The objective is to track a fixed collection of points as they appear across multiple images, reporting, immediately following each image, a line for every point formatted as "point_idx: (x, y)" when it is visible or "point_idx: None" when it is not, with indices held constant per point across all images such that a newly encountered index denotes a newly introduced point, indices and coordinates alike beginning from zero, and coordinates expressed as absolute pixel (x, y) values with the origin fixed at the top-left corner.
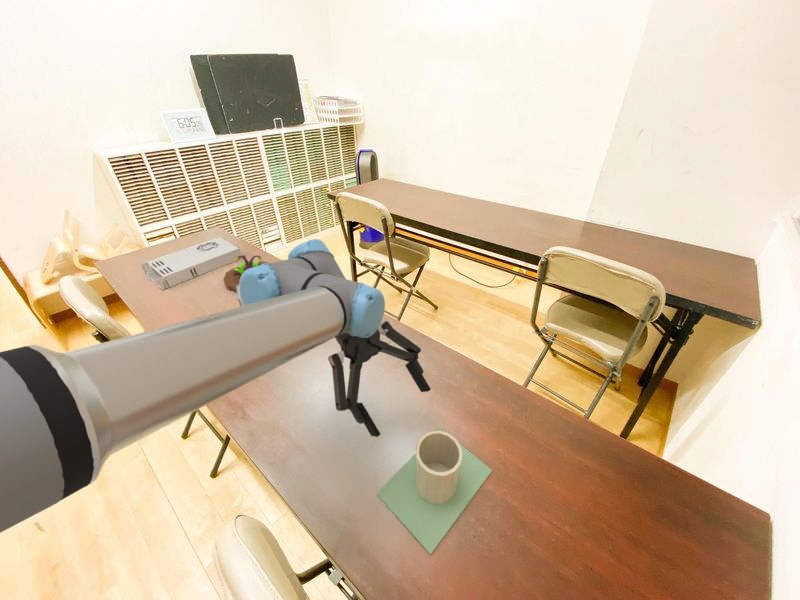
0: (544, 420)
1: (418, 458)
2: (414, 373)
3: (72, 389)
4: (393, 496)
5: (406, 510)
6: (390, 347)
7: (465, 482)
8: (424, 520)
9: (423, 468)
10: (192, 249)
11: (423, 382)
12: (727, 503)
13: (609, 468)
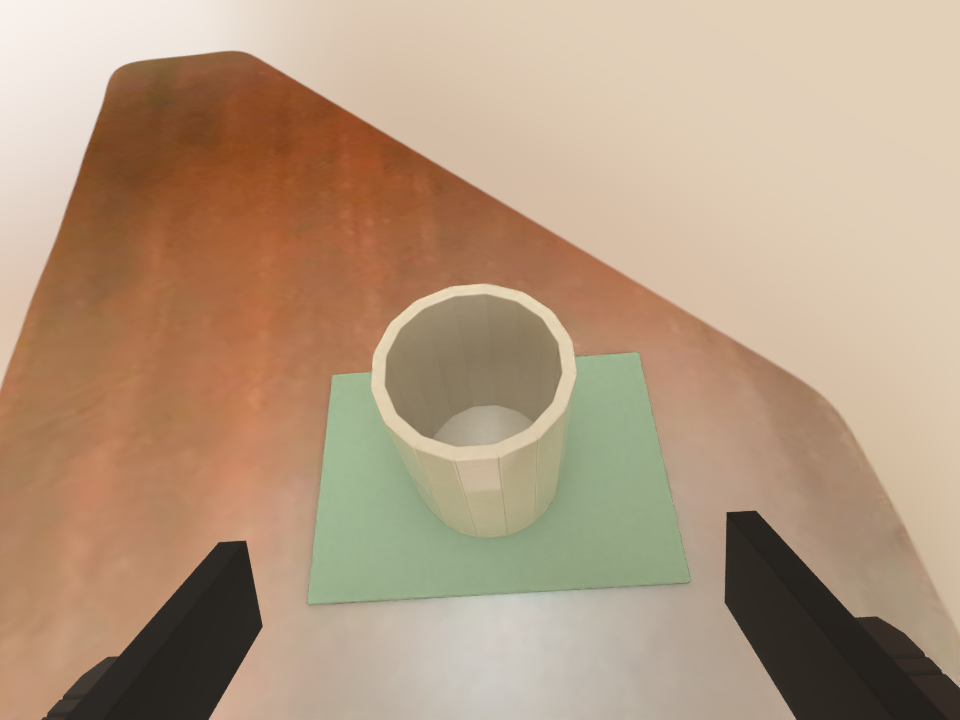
0: (69, 366)
1: (564, 398)
2: (163, 706)
3: None
4: (640, 530)
5: (629, 467)
6: None
7: None
8: (599, 412)
9: (574, 360)
10: None
11: (206, 587)
12: (113, 93)
13: (146, 215)
